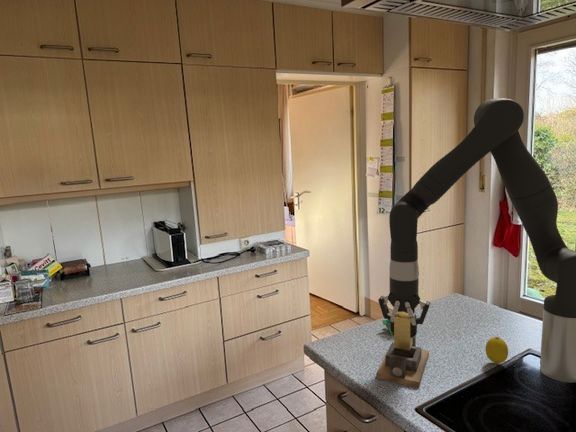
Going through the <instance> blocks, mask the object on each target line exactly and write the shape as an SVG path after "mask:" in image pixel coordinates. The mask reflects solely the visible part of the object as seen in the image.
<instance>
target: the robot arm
mask: <svg viewBox="0 0 576 432" xmlns="http://www.w3.org/2000/svg"><path fill="white" fill-rule="evenodd" d="M473 114H474V115H473V124H474V125H473V126H474V127H472V129H471V131H469V133H468V134H467V135H466V136H465V137H464V139H463V140H461V142H460V143H458V144H457V146H455V147H454V148H453V149H451V151H448V153H446V154H445V155H444V156H442V157H441V158H440V159H439V160H438V161H437V162H436V161H435V163H434V164H432V166H431V167H430V168H429V169H428V170H427V171H426V172H425V173H424V174H423V175H422V176H421V177H420V178H419V179H418V180H417V182H416V183H415V184H414V185H413V186H412V188H411V189H410V190H408V191H407V192H406V193H405V194H404V195H403V196H402V197H401V198H400V199H399V200H398V201H397V202H395V203H394V205H393V206H392V208H391V210H390V212H389V233H390V234H389V235H390V246H389V247H390V259H389V293H388V295H386V296H384V295H380V297H379V299H378V300H377V301H378V305H379V307H380V310H381V313H382V316H383V318H384V320H387V319H388V320H390V322H391V332H393V333H392V335H393V336H394V316H396V315H397V313H398V312H406V313H408V315H409V318H411V323H412V324H411V338H414V336H416V335H417V334H418V325H423V324H424V322H425V319H426V317H427V313H428V311H429V309H430V306H431V302H430V301H425V300H422V299H421V297H420V296H419V284H420V283H419V276H420V269H419V260H418V259H419V248H418V240H417V238H418V237H417V236H418V220H419V218H420V217H421V216H422V214H423V213H424V212H426V211H427V209H428V208H429V207H430V206H432V205H434V204H436V203H437V202H438V201H439V200H440V199H441V198H442V197H443V196H444V195H445V194H446V193H447V192H448V191H449V190H450V189H451V188H452V187H453V186H454V185H455V184H456V183H457V182H458V181H459V180H460V179H461V178H462V177H463V176H464V175H465V174H466V173H468V171H470V169H472V167H474V165H476V164H477V163H479V161H481V160H482V159H483V158H484V157H485V156H487V154H489V153H491V155H492V158H493V159H494V161H495V164H496V166H497V170H498V172H499V176H500V177H501V181H502V183H503V185H504V188H505V190H506V192H507V195H508V197H509V199H510V202H511V204H512V206H513V209H514V210H515V212H516V214H517V216H518V218H519V220H520V222H521V224H522V226H523V229H524V230H525V233H526V235H527V237H528V238H529V242H530V243H531V246H532V249H533V253H534V256H535V259H536V262H537V265H538V267H539V271H540V273H542V275H543V276H544V277H545V278H546V279H548V280H549V281H552V282H553V283H556V288H555V294H551V295H550V294H549V295H548V296H546V297H545V298H544V300H543V308H542V309H543V311H542V323H541V324H542V325H541V326H542V328H541V341H540V342H541V344H540V359H539V370H540V371H541V373H542V374H543V375H545V376H546V377H548V378H550V379H552V380H554V381H558V382H561V383H571V384H572V383H576V250H573V249H571V248H569V247H568V246H567V245H566V243H565V242H564V240H563V238H562V236H561V233H560V231H559V229H558V224H557V219H558V213H559V201H558V198H557V195H556V191H555V190H554V188H553V186H552V184H551V181H550V179H549V178H548V176H547V174H546V173H545V171H544V169H543V168H542V166H541V165H540V164H539V163H538V161H537V160H536V159H535V157H534V156H533V155H532V154H531V153H530V151H529V150H528V148H527V147H526V145H525V143H524V142H523V139H522V137H521V134H520V132H519V130H520V128H521V127H522V125H523V122H524V119H525V113H524V110H523V107H522V106H521V104H520V103H518V101H515V100H513V99H510V98H502V97H501V98H491V99H490V98H489V99H487V100H485V101H483V102H481V103H480V104H479V105H478V106H477V108H476V109H475V112H474V113H473ZM388 303H390V305H391V306H392V307H393V309H392V311H391V313H390V309H389V306H388ZM417 306H420V309H421V313H420V316H419V317H417V314H416V313H417V311H416V308H417ZM416 337H417V336H416Z"/></svg>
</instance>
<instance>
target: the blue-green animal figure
mask: <svg viewBox="0 0 576 432" xmlns="http://www.w3.org/2000/svg"><path fill="white" fill-rule="evenodd" d="M382 324H383V326H386V328H387V329H388V331H389V333H390V334H392V335H393V332H391V322H390V320H388V319H384V320H382Z"/></svg>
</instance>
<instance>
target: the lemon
mask: <svg viewBox="0 0 576 432" xmlns="http://www.w3.org/2000/svg"><path fill="white" fill-rule="evenodd" d="M485 353H486V354H485V355H486V357H487V358H488V360H490V361H491V362H493V364H495V365H498V364H502V363H504V362H505V361H506V360H507V359H508V357H509V348H508V344H507V342H506V341H505V340H504V339H502V338H500V337H499V336H494V337H491V338H489V339H488V340H487V342H486V344H485Z"/></svg>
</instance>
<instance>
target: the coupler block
mask: <svg viewBox="0 0 576 432" xmlns="http://www.w3.org/2000/svg"><path fill="white" fill-rule="evenodd" d="M411 324H412V323H411V318H409V315H408V313H406V312H398V313H397V315H396V316H394V335H393V338H394V339H393V343H394V348H399V349H405V350H410V349H411V347H412V344H413V338H411Z"/></svg>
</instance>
